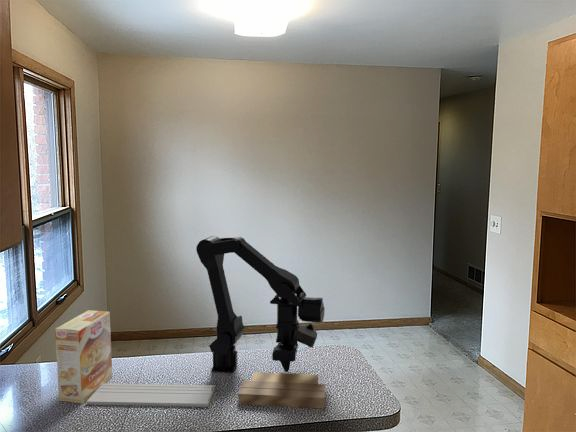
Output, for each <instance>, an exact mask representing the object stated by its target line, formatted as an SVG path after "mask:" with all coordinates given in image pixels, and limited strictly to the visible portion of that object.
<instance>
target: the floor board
mask: <svg viewBox="0 0 576 432" xmlns="http://www.w3.org/2000/svg"><path fill="white" fill-rule="evenodd" d="M237 394H238V395H237V397H238V398H237V402H238V403H237V404H238V405H247V404H249V406H250V405H252V404H253V406H269V407H270V406H271V407H287V406H288V407H289V408H292V407H293V408H308V409H309V408H310V409H325V407H326V384H324V383H323V384H322V383H318V384H307V383H286V382H264V381H251V380H242V382H241V385H240V388H239V390H238V393H237Z"/></svg>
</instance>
